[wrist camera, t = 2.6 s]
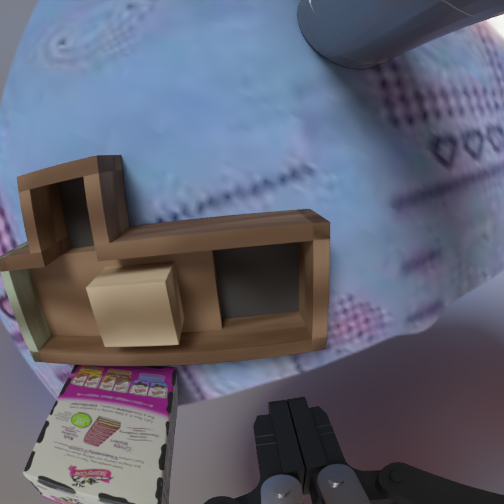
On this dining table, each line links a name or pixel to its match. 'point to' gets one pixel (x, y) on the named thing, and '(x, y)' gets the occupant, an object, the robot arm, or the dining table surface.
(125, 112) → the dining table surface
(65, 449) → the candy bar box
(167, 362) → the tray
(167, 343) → the maple block
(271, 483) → the robot arm
